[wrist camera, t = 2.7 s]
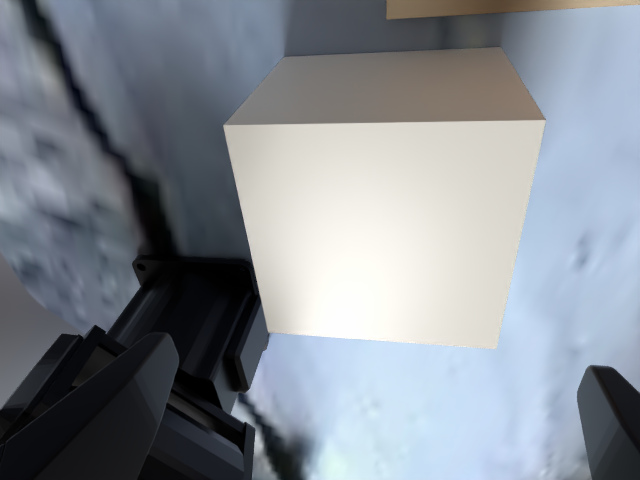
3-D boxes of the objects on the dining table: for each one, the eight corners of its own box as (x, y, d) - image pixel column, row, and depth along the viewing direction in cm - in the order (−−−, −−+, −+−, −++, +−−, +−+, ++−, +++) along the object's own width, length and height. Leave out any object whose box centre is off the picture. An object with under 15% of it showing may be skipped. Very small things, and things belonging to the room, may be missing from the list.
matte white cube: (304, 226, 21) (268, 332, 16) (283, 56, 17) (223, 125, 11) (474, 231, 20) (496, 349, 14) (501, 46, 15) (545, 120, 10)
